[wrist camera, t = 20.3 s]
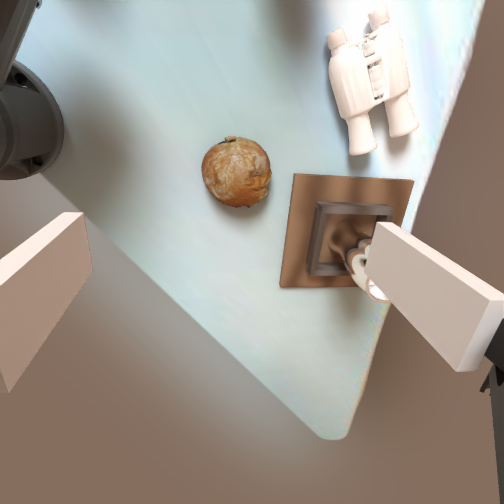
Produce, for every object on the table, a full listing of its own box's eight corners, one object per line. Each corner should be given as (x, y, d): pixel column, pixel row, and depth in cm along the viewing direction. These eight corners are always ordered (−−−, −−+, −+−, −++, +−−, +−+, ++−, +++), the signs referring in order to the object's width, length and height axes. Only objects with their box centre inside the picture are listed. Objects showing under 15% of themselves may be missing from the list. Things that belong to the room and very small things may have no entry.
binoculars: (345, 155, 48) (358, 159, 44) (312, 42, 41) (324, 35, 37) (408, 124, 48) (427, 126, 44) (385, 5, 41) (406, -6, 37)
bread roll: (254, 133, 49) (250, 113, 41) (283, 192, 49) (285, 183, 41) (198, 163, 49) (184, 148, 41) (227, 220, 50) (218, 217, 42)
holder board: (279, 283, 57) (284, 295, 53) (294, 173, 48) (300, 178, 45) (380, 283, 60) (391, 295, 56) (410, 179, 51) (426, 185, 48)
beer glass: (361, 253, 55) (410, 302, 42) (323, 256, 54) (361, 307, 41) (366, 216, 52) (421, 255, 39) (326, 219, 51) (368, 260, 38)
